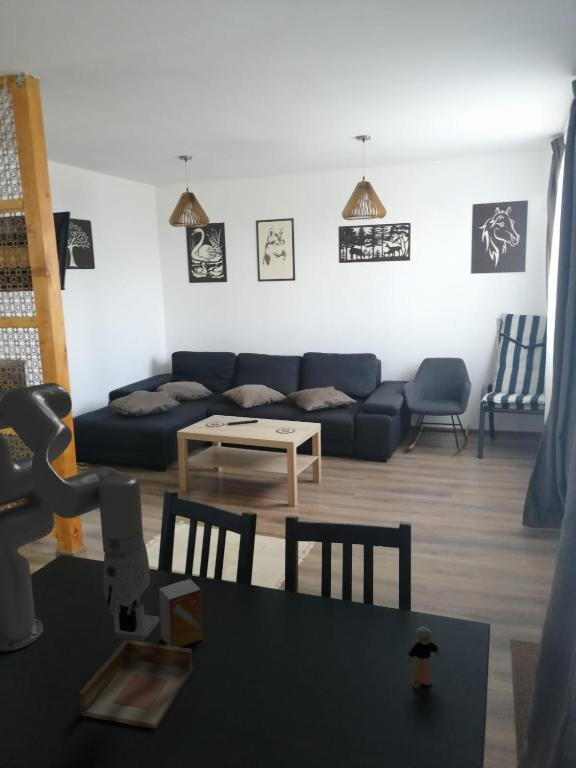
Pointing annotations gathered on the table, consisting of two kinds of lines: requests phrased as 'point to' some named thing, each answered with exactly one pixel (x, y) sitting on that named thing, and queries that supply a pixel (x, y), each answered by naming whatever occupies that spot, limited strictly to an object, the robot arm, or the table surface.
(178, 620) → the small box
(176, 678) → the wooden tray
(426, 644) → the grandmother figurine
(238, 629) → the table surface
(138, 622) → the bracket
